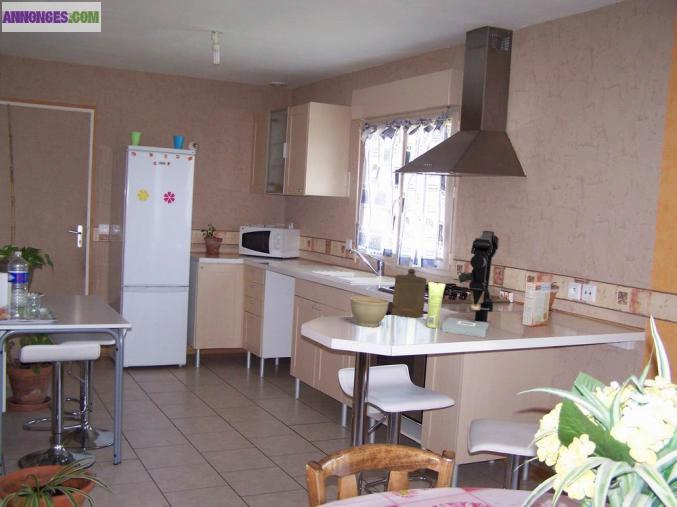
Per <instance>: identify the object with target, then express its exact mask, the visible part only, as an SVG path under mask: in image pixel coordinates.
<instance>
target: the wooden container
mask: <svg viewBox="0 0 677 507" xmlns="http://www.w3.org/2000/svg"><path fill="white" fill-rule="evenodd" d="M407 272H408V273H407V274H405V275H404V274H398V275H397V274H396V275H395V278H394V279H395V281H394V285H393V287H394V288H393V296H392V306H391V314H392V315H395V316H397V317H398V316H399V317H402V318H413V319H414V318H415V319H418V318H423V317H424V308H425V296H426V285H427V284H426V283H427V278H425V277H422V276H417V275H416V274H415V273H416V270H415V269H414V268H410V269H408V270H407Z"/></svg>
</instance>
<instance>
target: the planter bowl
mask: <svg viewBox="0 0 677 507" xmlns="http://www.w3.org/2000/svg"><path fill="white" fill-rule="evenodd" d="M389 305H390V301H389V300H387V299H384V298H380V297H379V298H378V297H373V296H352V297H350V309H351V313H352V316H353V318H354V320H355V322H356V325H358V326H361V327H366V328H369V327H370V328H376V327H379V326H380V323H381V322H382V321H383V320H384V319H385V316H386V315H387V312H388V309H389Z"/></svg>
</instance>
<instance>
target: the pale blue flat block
mask: <svg viewBox="0 0 677 507" xmlns="http://www.w3.org/2000/svg"><path fill="white" fill-rule="evenodd" d="M487 322H488V321H487ZM487 322H480V321H474V320H471V319H464V318H463V319H462V318H458V317H448V318H447V319H446V320H445V321H444V322H443V323H442V326H441V332H444V333H450V334H458V335H459V334H460V335H464V336H465V335H467V336H472V337H479V338H486V336H487V334H488V332H489V330H490V324H491V323H490V322H488V323H487Z"/></svg>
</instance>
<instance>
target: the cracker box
mask: <svg viewBox="0 0 677 507" xmlns="http://www.w3.org/2000/svg"><path fill="white" fill-rule="evenodd" d="M551 287H552V282H550V281H549V282H547V281H526V283H525V290H524V291H525V292H524V301H523V311H522V313H523V314H522V323H521V324H522V325H523V326H525V325H527V326H526V327H531V328H533V327H539V326H540V327H541V326H547V325H548V318H549V309H550V301H551V300H550V299H551V289H552V288H551Z"/></svg>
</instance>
